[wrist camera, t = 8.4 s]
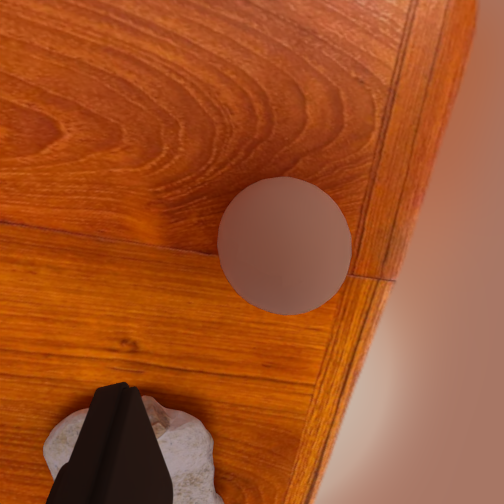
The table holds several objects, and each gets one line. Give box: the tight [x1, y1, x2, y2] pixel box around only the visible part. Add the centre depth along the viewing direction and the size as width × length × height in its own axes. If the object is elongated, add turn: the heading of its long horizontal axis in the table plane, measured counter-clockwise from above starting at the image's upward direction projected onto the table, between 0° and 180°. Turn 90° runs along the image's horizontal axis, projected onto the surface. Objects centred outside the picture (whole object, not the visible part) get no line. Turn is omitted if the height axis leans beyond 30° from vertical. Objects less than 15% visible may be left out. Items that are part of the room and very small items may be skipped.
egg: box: [217, 177, 352, 315], centre depth 16 cm, size 5×5×7 cm
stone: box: [43, 395, 224, 504], centre depth 23 cm, size 12×9×3 cm
